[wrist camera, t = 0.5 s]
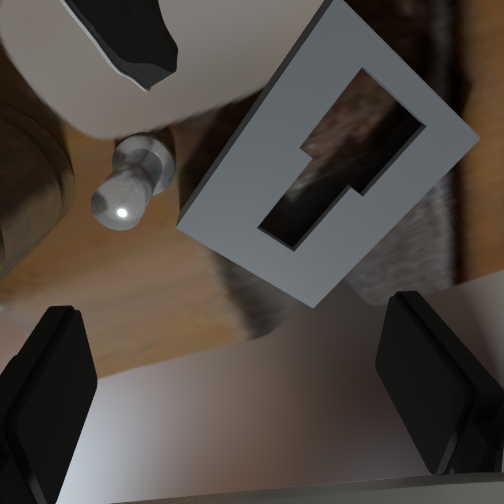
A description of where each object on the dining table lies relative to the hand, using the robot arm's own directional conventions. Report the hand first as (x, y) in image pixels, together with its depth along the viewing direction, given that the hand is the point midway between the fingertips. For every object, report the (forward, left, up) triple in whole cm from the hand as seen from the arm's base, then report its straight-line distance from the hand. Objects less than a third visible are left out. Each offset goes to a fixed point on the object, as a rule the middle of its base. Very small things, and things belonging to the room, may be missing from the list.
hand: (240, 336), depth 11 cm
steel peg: (+8, -5, -32) cm, 34 cm away
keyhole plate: (-2, +11, -32) cm, 34 cm away
